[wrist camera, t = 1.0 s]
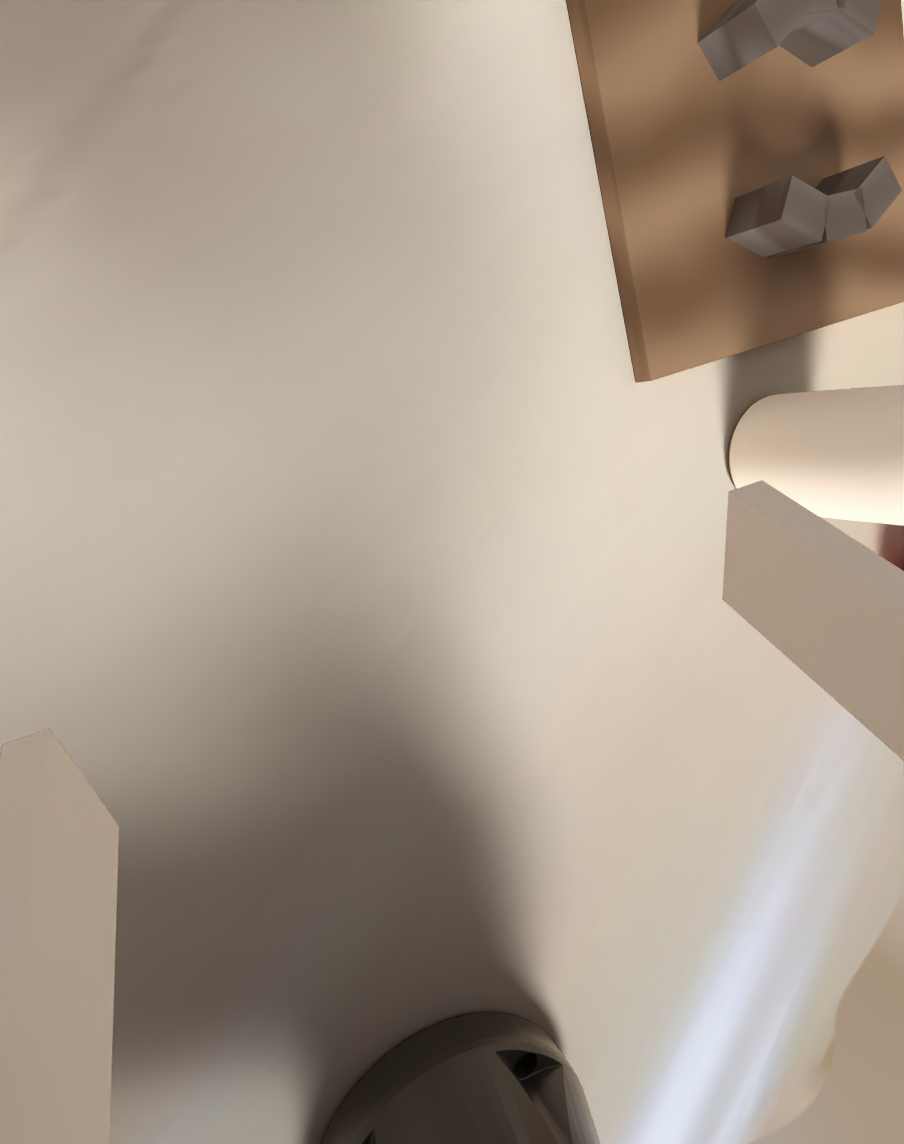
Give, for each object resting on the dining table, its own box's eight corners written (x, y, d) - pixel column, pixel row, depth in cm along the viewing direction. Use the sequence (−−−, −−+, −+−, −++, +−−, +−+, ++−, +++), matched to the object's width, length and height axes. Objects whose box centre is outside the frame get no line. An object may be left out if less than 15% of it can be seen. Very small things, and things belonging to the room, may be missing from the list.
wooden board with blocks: (903, 299, 45) (986, 284, 41) (635, 382, 38) (700, 375, 34) (871, -94, 40) (962, -158, 35) (552, -77, 33) (617, -153, 29)
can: (807, 387, 43) (1040, 368, 32) (811, 498, 45) (1035, 516, 34) (720, 403, 41) (939, 389, 30) (727, 520, 42) (938, 548, 31)
